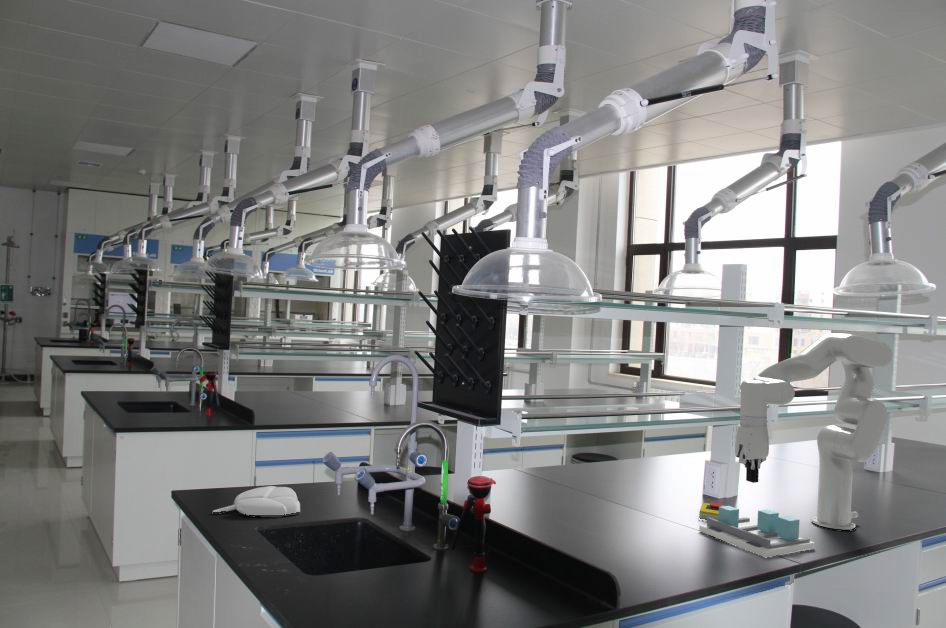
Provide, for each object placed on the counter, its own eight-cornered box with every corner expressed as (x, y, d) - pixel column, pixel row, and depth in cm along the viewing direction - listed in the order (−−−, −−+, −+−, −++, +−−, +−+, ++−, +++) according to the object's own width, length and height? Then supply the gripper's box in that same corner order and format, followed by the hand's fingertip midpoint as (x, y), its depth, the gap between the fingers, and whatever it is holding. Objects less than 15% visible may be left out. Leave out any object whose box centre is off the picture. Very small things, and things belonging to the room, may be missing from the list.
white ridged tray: (746, 525, 224) (746, 511, 224) (814, 549, 203) (815, 534, 203) (699, 532, 215) (699, 517, 215) (765, 558, 194) (766, 542, 194)
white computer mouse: (305, 516, 213) (216, 531, 203) (293, 501, 229) (210, 515, 219) (303, 494, 213) (214, 508, 203) (292, 481, 229) (209, 494, 218)
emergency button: (732, 502, 237) (729, 513, 223) (732, 515, 237) (728, 527, 223) (703, 497, 241) (698, 508, 227) (702, 510, 241) (697, 522, 227)
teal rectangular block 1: (727, 523, 216) (728, 505, 216) (738, 527, 213) (739, 509, 213) (718, 525, 214) (718, 506, 214) (728, 529, 211) (729, 510, 211)
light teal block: (766, 527, 214) (767, 509, 214) (777, 531, 211) (778, 512, 211) (757, 529, 212) (758, 510, 212) (768, 533, 209) (769, 514, 209)
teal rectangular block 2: (786, 534, 208) (787, 515, 208) (798, 538, 204) (799, 519, 204) (777, 536, 206) (778, 517, 206) (789, 540, 203) (790, 521, 203)
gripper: (760, 417, 224) (759, 476, 225) (726, 421, 217) (724, 481, 218) (780, 421, 218) (779, 481, 218) (745, 425, 211) (744, 487, 211)
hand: (752, 481), depth 218 cm, fingers closed
